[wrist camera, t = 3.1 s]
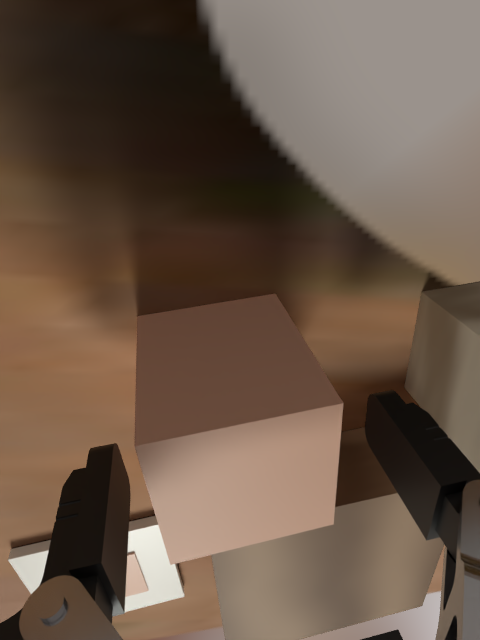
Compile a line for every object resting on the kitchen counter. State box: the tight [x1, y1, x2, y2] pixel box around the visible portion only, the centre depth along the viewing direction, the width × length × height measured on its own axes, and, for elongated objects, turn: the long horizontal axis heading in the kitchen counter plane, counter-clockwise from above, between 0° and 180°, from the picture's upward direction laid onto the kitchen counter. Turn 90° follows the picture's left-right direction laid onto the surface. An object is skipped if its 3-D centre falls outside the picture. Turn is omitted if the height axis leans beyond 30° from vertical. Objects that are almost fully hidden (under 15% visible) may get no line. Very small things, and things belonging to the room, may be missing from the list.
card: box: [8, 516, 184, 612], centre depth 21 cm, size 7×7×1 cm
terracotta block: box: [135, 294, 343, 565], centre depth 13 cm, size 5×5×6 cm
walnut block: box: [211, 427, 444, 640], centre depth 21 cm, size 11×11×4 cm
